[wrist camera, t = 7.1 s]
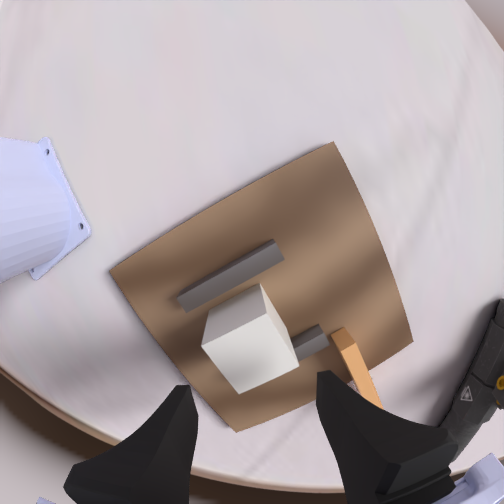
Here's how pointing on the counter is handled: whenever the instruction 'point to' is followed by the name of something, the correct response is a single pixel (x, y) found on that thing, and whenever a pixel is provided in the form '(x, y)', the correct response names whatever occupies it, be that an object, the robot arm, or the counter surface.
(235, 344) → the white block
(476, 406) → the laser sight
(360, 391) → the bar
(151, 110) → the counter surface
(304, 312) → the base board
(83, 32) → the counter surface
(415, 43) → the counter surface
